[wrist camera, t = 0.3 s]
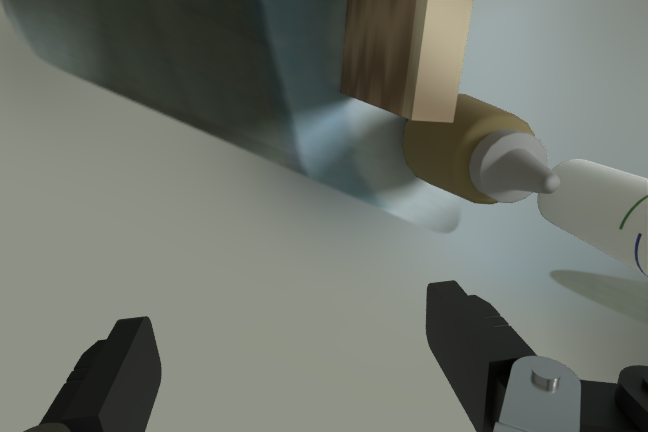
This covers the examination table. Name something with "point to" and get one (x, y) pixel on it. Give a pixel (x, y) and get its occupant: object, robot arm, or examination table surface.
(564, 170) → the cylindrical container
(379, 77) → the wall board
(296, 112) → the examination table surface
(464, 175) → the squeeze bottle
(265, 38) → the examination table surface
